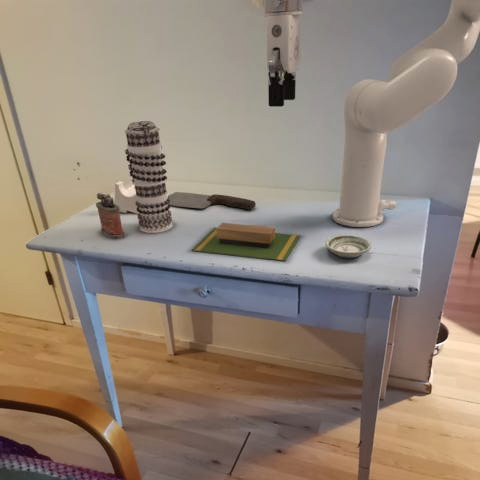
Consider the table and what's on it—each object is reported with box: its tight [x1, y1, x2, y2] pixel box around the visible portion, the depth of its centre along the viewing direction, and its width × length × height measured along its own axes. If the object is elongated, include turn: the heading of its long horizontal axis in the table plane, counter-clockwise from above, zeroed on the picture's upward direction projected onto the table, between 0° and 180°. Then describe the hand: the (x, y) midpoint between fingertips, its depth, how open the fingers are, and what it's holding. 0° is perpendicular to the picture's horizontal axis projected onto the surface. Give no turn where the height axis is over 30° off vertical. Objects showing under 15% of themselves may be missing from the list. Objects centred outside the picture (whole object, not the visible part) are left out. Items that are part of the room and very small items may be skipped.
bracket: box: [114, 180, 139, 215], centre depth 129 cm, size 13×7×8 cm, turn 168°
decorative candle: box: [124, 120, 173, 234], centre depth 110 cm, size 9×9×25 cm
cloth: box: [191, 227, 301, 262], centre depth 105 cm, size 22×14×1 cm, turn 71°
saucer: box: [324, 234, 372, 259], centre depth 98 cm, size 10×10×2 cm
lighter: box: [95, 192, 125, 240], centre depth 111 cm, size 8×3×10 cm, turn 45°
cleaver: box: [168, 191, 257, 211], centre depth 129 cm, size 29×10×2 cm, turn 62°
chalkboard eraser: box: [216, 222, 276, 248], centre depth 104 cm, size 4×13×4 cm, turn 71°
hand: (282, 102), depth 98 cm, fingers open, 9 cm apart
